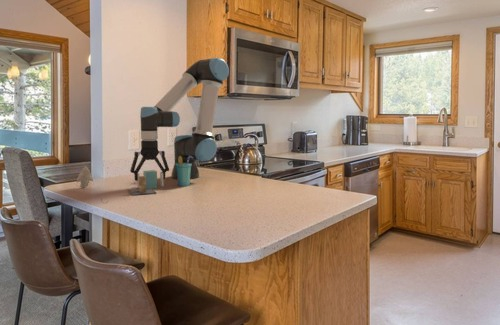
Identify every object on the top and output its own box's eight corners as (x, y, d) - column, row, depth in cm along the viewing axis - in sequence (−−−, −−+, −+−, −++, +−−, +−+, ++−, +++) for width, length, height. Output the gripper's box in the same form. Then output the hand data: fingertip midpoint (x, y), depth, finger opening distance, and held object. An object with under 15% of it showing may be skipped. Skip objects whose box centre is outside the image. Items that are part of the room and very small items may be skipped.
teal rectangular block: (154, 185, 189) (154, 170, 188) (157, 187, 184) (156, 171, 184) (143, 186, 187) (143, 170, 186) (146, 188, 182) (145, 172, 181)
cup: (200, 186, 188) (200, 155, 186) (187, 188, 182) (187, 156, 181) (182, 183, 198) (182, 153, 196) (169, 184, 192) (169, 154, 190)
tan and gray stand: (151, 189, 179) (151, 174, 178) (156, 193, 170) (156, 177, 169) (128, 191, 175) (128, 175, 174) (132, 195, 166) (132, 179, 165)
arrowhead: (78, 189, 179) (77, 167, 177) (75, 188, 180) (74, 167, 179) (94, 187, 184) (94, 166, 183) (92, 186, 186) (91, 165, 185)
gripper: (171, 139, 191) (172, 183, 194) (122, 139, 181) (124, 187, 184) (175, 140, 185) (176, 186, 187) (125, 140, 175) (126, 189, 177)
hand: (150, 186), depth 186 cm, fingers open, 10 cm apart
